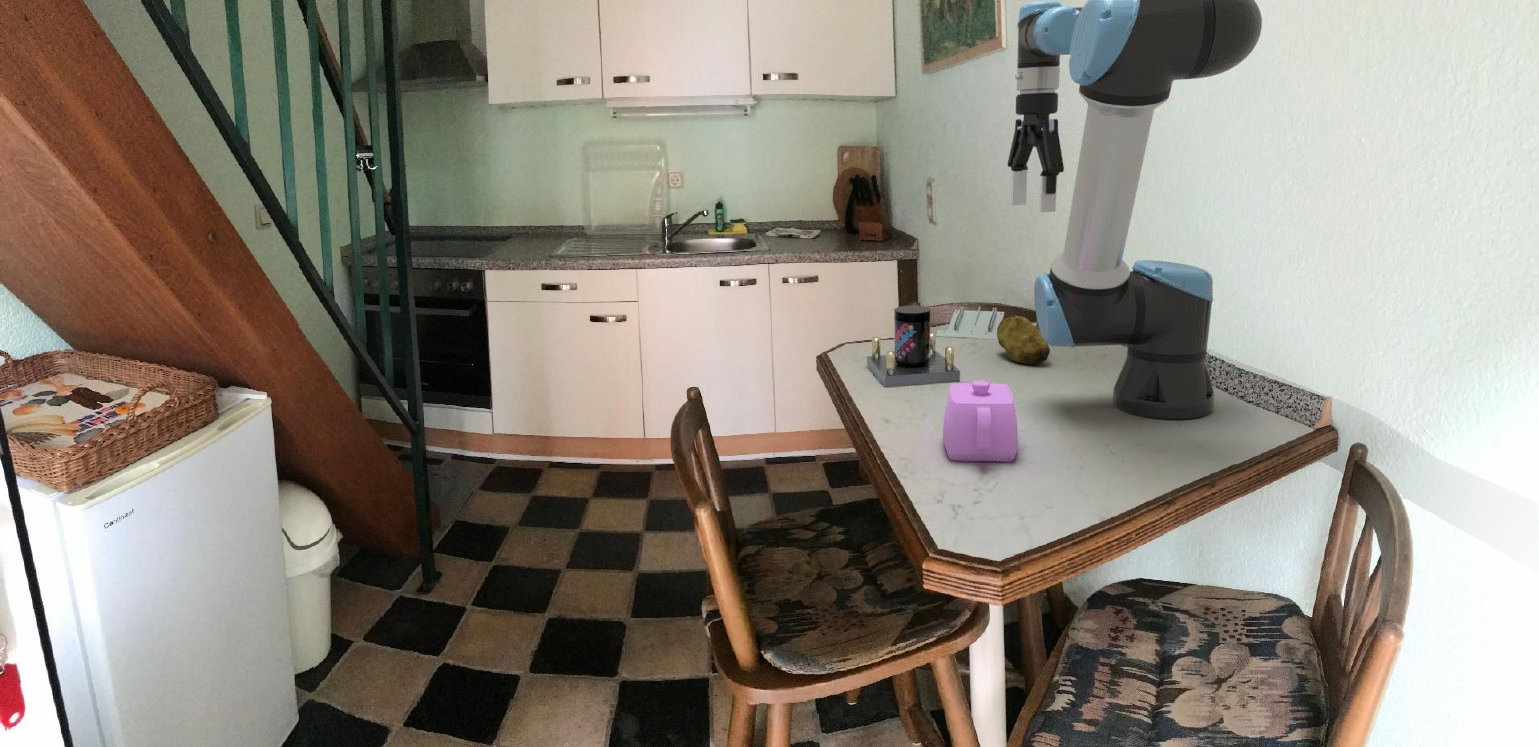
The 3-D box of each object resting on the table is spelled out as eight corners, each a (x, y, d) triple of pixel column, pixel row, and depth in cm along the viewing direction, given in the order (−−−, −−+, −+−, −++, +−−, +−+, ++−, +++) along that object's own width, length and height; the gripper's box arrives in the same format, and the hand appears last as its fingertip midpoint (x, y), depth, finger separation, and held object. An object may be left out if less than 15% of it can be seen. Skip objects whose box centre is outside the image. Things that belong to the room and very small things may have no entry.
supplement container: (893, 358, 172) (893, 305, 169) (928, 358, 172) (929, 304, 169) (895, 368, 166) (895, 313, 163) (932, 368, 165) (932, 312, 162)
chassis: (959, 381, 163) (960, 349, 162) (884, 387, 162) (884, 355, 160) (936, 361, 177) (936, 331, 175) (867, 366, 175) (866, 336, 174)
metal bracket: (946, 301, 204) (1014, 303, 199) (947, 323, 207) (1014, 326, 202) (933, 332, 193) (1005, 335, 188) (935, 355, 196) (1005, 359, 191)
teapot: (941, 426, 141) (942, 364, 139) (1009, 427, 140) (1012, 364, 137) (944, 470, 124) (945, 400, 121) (1022, 472, 123) (1025, 401, 120)
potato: (1008, 369, 169) (1009, 328, 167) (992, 351, 182) (993, 313, 180) (1052, 367, 169) (1054, 326, 167) (1033, 350, 182) (1035, 311, 179)
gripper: (993, 94, 177) (990, 203, 183) (1046, 91, 153) (1040, 216, 159) (1029, 92, 178) (1025, 201, 184) (1087, 89, 154) (1081, 213, 160)
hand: (1032, 208), depth 172 cm, fingers open, 13 cm apart
